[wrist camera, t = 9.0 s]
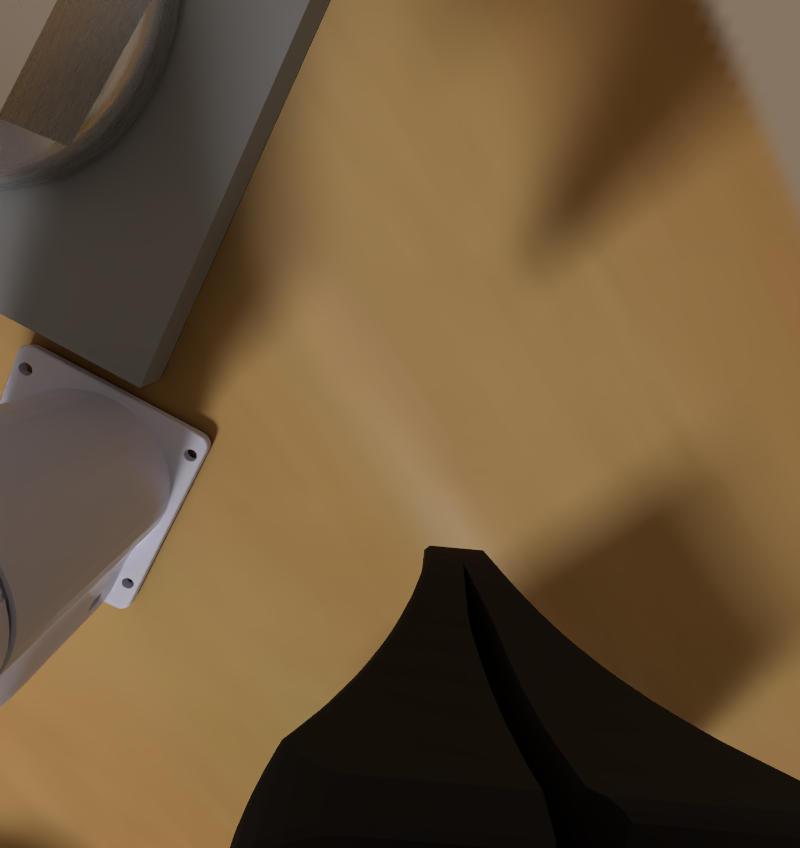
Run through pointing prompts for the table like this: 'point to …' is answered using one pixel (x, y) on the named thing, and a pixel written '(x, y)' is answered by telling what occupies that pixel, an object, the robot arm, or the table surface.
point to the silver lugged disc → (74, 80)
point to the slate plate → (155, 192)
